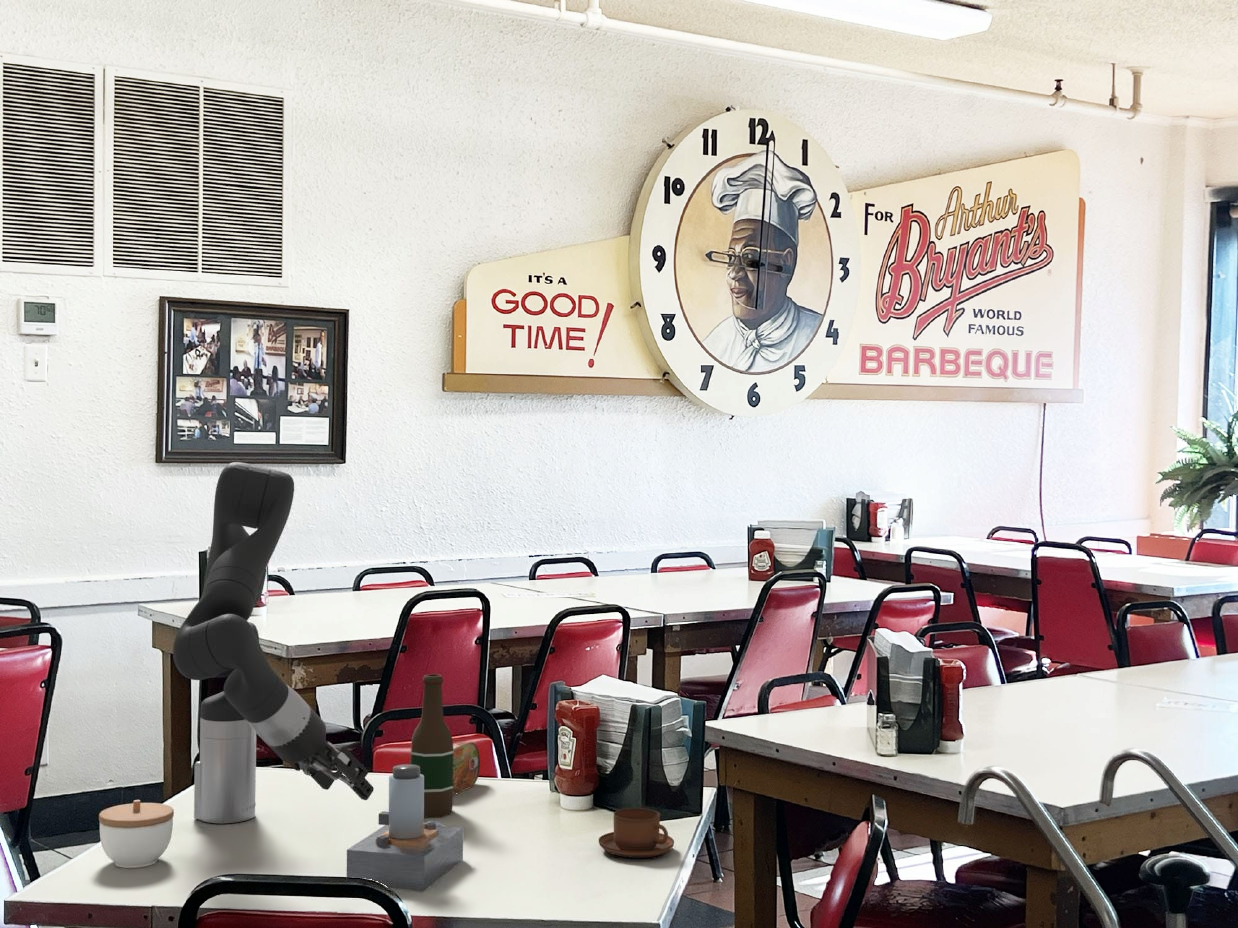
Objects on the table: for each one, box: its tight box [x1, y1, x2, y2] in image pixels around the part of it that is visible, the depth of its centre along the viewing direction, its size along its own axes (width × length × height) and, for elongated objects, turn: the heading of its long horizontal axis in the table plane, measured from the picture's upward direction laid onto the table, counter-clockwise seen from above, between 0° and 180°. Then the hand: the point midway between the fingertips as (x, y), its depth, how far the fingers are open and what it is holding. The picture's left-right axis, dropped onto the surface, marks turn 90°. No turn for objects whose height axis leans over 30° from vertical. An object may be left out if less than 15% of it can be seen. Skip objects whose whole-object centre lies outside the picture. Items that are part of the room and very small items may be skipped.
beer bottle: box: [410, 673, 454, 819], centre depth 240 cm, size 8×8×24 cm
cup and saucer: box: [598, 807, 675, 859], centre depth 218 cm, size 12×12×6 cm
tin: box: [453, 741, 481, 796], centre depth 256 cm, size 15×3×8 cm, turn 159°
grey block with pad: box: [346, 820, 464, 892], centre depth 208 cm, size 12×21×6 cm, turn 166°
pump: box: [378, 763, 425, 839], centre depth 206 cm, size 7×5×10 cm
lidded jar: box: [98, 799, 175, 869], centre depth 209 cm, size 11×11×9 cm
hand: (349, 789), depth 198 cm, fingers open, 8 cm apart
